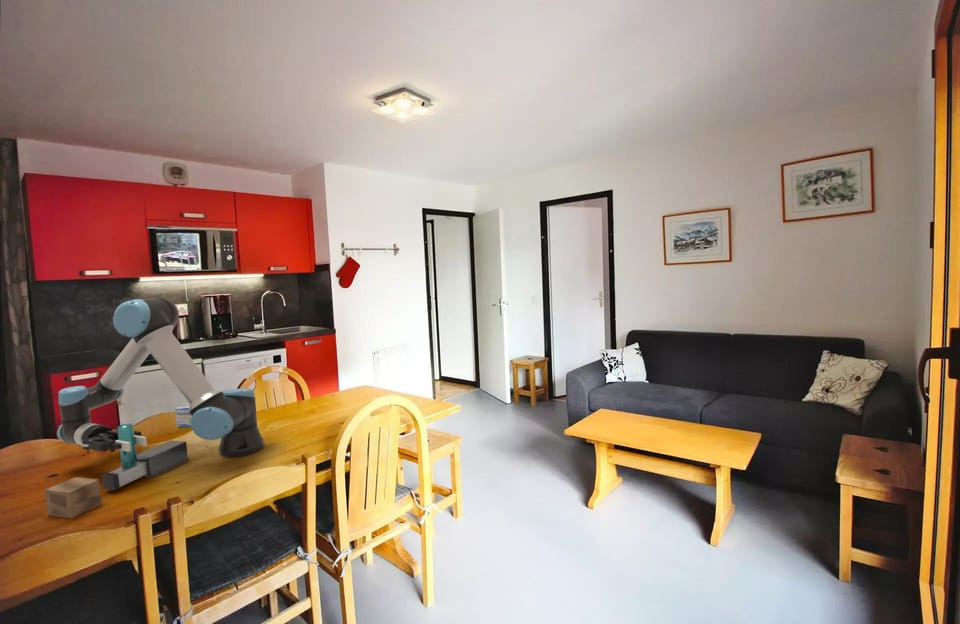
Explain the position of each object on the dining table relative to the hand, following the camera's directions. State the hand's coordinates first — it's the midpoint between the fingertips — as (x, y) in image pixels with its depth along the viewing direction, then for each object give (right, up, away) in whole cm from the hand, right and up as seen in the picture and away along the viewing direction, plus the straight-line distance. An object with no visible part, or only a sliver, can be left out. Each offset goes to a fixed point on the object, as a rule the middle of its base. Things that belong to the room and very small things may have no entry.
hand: (137, 444), depth 147 cm
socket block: (-8, -15, -13) cm, 22 cm away
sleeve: (-2, -12, +14) cm, 19 cm away
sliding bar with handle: (-3, -12, +8) cm, 14 cm away
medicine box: (-21, -9, +59) cm, 63 cm away
